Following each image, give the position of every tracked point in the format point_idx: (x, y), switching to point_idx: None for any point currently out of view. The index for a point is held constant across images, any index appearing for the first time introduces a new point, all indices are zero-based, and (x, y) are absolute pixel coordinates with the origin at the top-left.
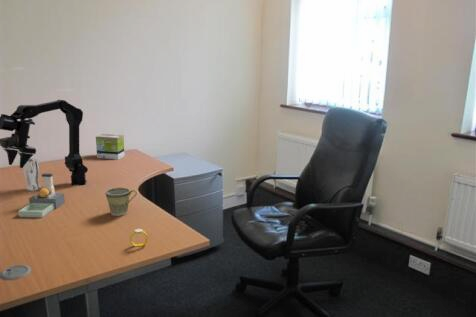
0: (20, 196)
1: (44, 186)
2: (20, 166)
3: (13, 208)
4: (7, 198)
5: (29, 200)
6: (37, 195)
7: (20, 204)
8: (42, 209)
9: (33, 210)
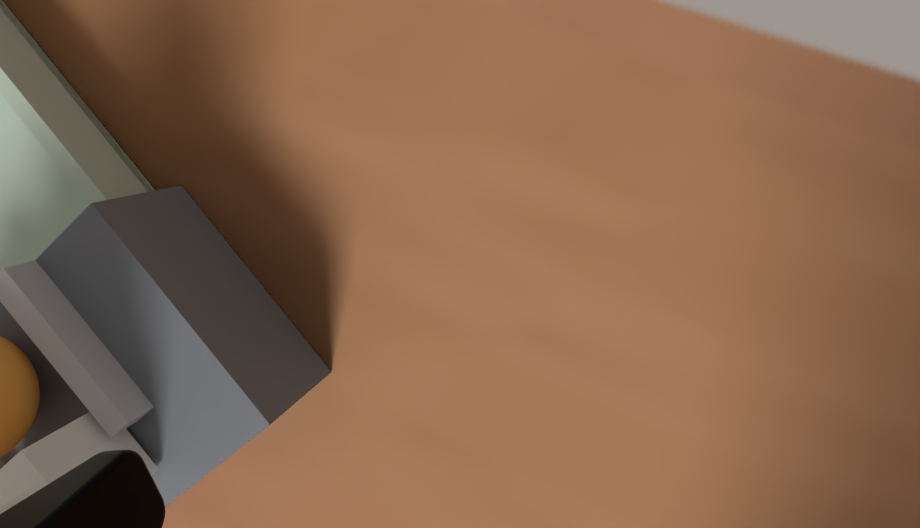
0: (788, 301)
1: (16, 501)
2: (55, 482)
3: (306, 17)
4: (857, 112)
5: (111, 201)
6: (8, 309)
7: (405, 151)
8: (10, 256)
9: (38, 167)
